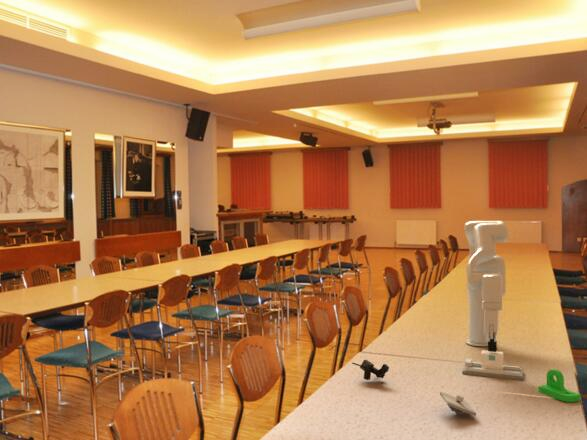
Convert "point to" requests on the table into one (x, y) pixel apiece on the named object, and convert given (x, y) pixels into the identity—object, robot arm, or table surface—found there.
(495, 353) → the block
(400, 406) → the table surface
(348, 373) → the table surface
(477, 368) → the rail plate
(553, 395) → the mechanical part
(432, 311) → the table surface
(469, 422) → the table surface
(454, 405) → the light switch
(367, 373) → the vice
